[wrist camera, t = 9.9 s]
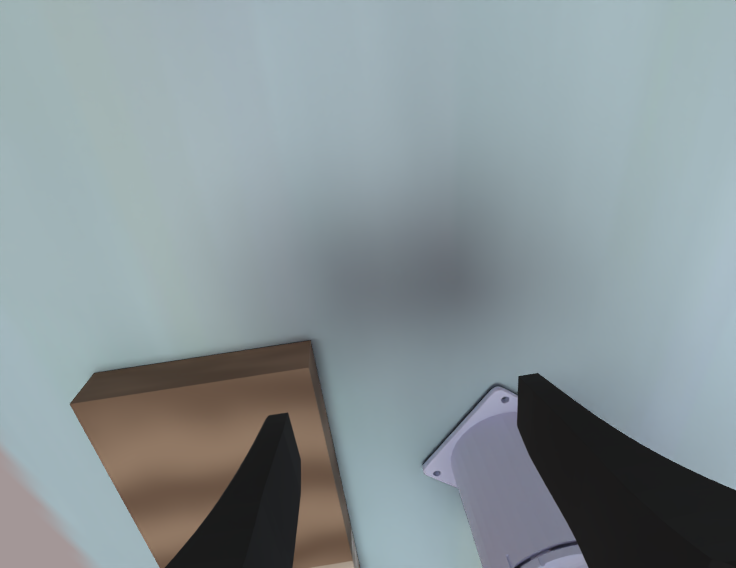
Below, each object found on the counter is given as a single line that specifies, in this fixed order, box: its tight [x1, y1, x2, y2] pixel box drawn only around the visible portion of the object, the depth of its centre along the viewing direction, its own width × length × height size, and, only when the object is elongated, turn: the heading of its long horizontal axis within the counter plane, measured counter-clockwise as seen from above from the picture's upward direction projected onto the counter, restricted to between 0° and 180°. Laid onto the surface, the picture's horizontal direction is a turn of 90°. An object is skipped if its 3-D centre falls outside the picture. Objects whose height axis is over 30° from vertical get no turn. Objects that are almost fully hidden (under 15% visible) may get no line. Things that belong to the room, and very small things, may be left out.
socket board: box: [70, 340, 360, 568], centre depth 28 cm, size 24×12×2 cm, turn 7°
